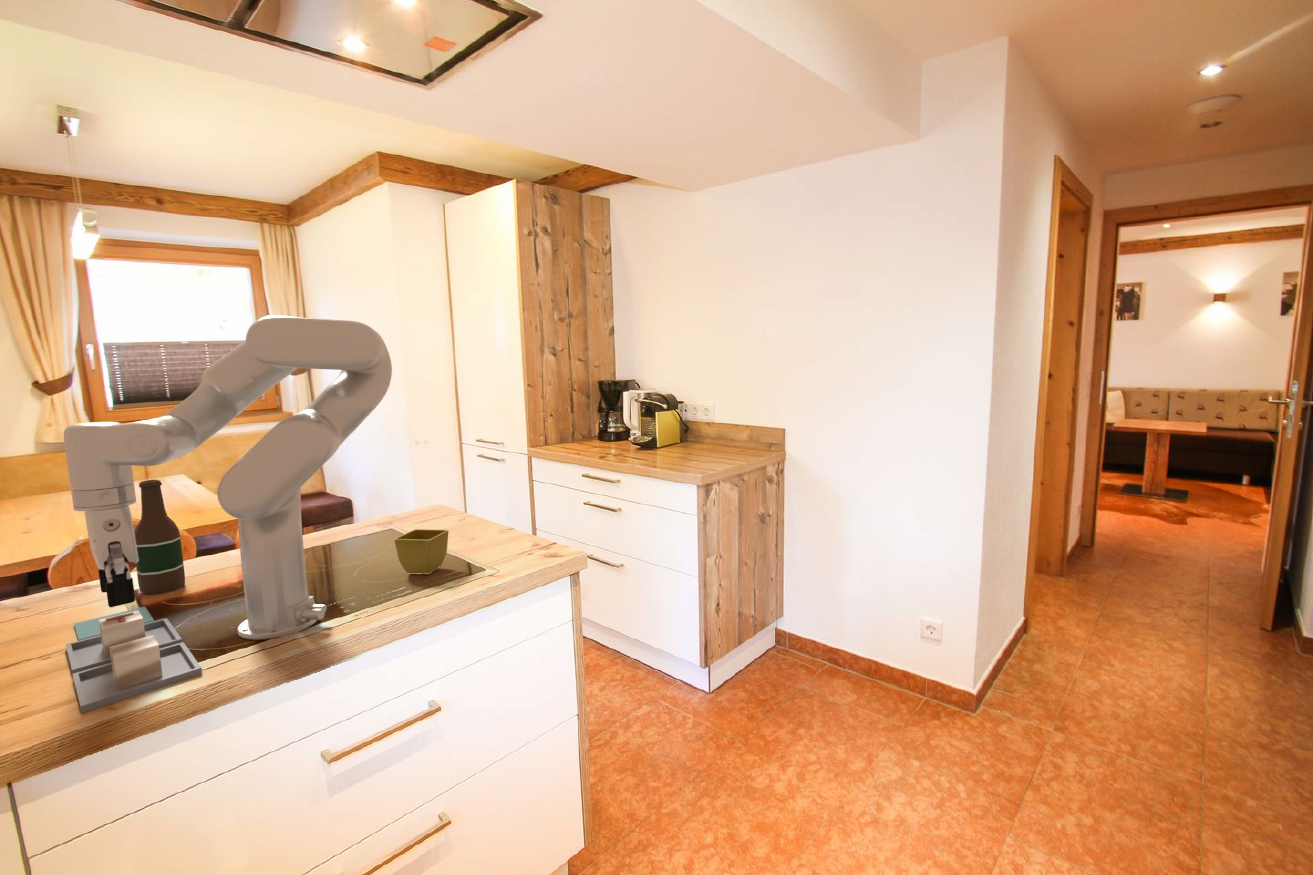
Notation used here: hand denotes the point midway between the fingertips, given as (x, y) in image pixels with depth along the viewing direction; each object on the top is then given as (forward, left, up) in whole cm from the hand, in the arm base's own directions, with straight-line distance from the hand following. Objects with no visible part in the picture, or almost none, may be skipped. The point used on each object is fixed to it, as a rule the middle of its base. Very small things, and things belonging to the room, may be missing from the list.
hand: (118, 596), depth 97 cm
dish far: (0, 0, -9) cm, 9 cm away
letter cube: (0, 0, -9) cm, 9 cm away
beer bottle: (+20, -26, -10) cm, 34 cm away
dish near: (-12, +9, -9) cm, 18 cm away
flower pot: (-33, -39, -10) cm, 52 cm away
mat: (+11, -8, -9) cm, 17 cm away
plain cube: (-12, +9, -9) cm, 17 cm away
